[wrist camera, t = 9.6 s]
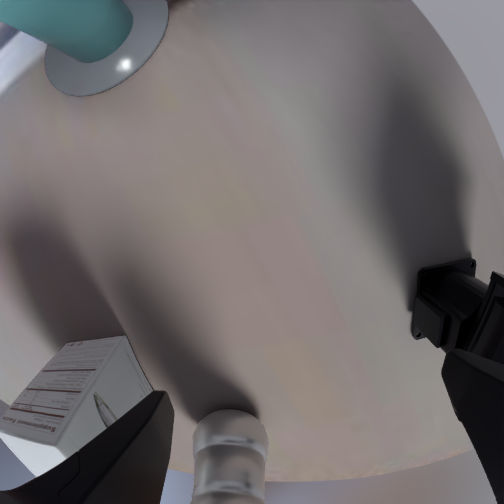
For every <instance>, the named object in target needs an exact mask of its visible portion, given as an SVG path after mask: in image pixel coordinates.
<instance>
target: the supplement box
mask: <svg viewBox="0 0 504 504" xmlns="http://www.w3.org/2000/svg"><path fill="white" fill-rule="evenodd" d="M152 391H153V390H152V388H151V386H150V384H149V383H148V381H147V379H146V377H145V376H144V374H143V372H142V370H141V368H140V366H139V364H138V362H137V359H136V357H135V355H134V353H133V351H132V349H131V346H130V344H129V342H128V339H127V337H126V336H125V335H124V336H116V337H109V338H102V339H94V340H86V341H78V342H71V343H66V344H65V345H64V346H63V347H62V349H61V350H60V351H59V352H58V353H57V354H56V355H55V356H54V357H53V358H52V359H51V360H50V361H49V362H48V363H47V364H46V365H45V367H44V368H43V369H42V370H41V371H40V372H39V373H38V374H37V376H36V377H35V378H34V379H33V380H32V381H31V382H30V383H29V385H28V386H27V387H26V388H25V389H24V390H23V392H22V393H21V394H20V395H19V396H18V398H17V399H16V400H15V401H14V402H13V404H12V405H11V406H10V407H9V409H8V410H7V411H6V412H5V413H4V415H3V416H2V417H1V418H0V438H1V439H2V440H3V441H4V442H5V444H6V445H7V446H8V447H9V448H10V449H11V451H12V452H14V454H15V455H16V456H17V457H18V458H19V459H20V460H21V462H22V463H23V464H24V465H25V466H26V467H27V468H28V469H29V470H30V471H31V472H32V473H33V474H34V475H35V476H36V477H38V476H40V475H42V474H43V473H45V472H47V471H49V470H50V469H52V468H53V467H55V466H57V465H58V464H60V463H61V462H63V461H64V460H65V459H67V458H68V457H70V456H71V455H72V454H74V453H75V452H76V451H78V452H79V449H80V448H82V447H83V446H84V445H86V444H87V443H88V442H90V441H91V440H92V439H93V438H95V437H96V436H97V435H99V434H100V433H101V432H102V431H104V430H105V429H106V428H108V427H109V426H110V425H111V424H113V423H114V422H115V421H116V420H118V419H119V418H120V417H121V416H123V415H124V414H125V413H126V412H128V411H129V410H130V409H131V408H133V407H134V406H135V405H136V404H137V403H139V402H140V401H141V400H142V399H144V398H145V397H146V396H147V395H148V394H150V393H151V392H152Z"/></svg>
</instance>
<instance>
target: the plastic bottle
mask: <svg viewBox="0 0 504 504" xmlns="http://www.w3.org/2000/svg"><path fill="white" fill-rule="evenodd" d="M268 445H269V441H268V437H267V434H266V430H265V428H264V426H263V424H262V423H261V422H260V421H259V420H258V419H256V418H255V417H254V416H252V415H251V414H249V413H247V412H244V411H240V410H232V409H224V410H218V411H215V412H212V413H210V414H208V415H207V416H205V417H204V418H203V419H201V420H200V422H199V423H198V425H197V427H196V430H195V432H194V435H193V455H194V489H193V493H192V501H191V504H265V496H264V482H265V463H266V459H267V454H268Z"/></svg>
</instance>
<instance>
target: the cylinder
mask: <svg viewBox="0 0 504 504" xmlns="http://www.w3.org/2000/svg"><path fill="white" fill-rule="evenodd" d="M0 21H1V22H3V23H5V24H7V25H9V26H12V27H14V28H16V29H18V30H20V31H22V32H24V33H26V34H28V35H30V36H32V37H34V38H36V39H38V40H40V41H42V42H44V43H46V44H48V45H50V46H51V47H53V48H55V49H57V50H59V51H61V52H63V53H64V54H66V55H68V56H70V57H72V58H73V59H75V60H77V61H79V62H82V63H93V62H97V61H100V60H102V59H104V58H106V57H108V56H109V55H111V54H112V53H113V52H115V51H116V50H117V49H118V48H119V47H120V46H121V45H122V44H123V43H124V41H125V40H126V39H127V37H128V35H129V34H130V32H131V29H132V26H133V15H132V12H131V10H130V9H129V8H128V7H127V5H126V4H125V3H124V2H123V1H122V0H0Z"/></svg>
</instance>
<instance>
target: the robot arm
mask: <svg viewBox="0 0 504 504" xmlns="http://www.w3.org/2000/svg"><path fill="white" fill-rule="evenodd" d="M471 263H472V264H471ZM475 271H476V260H475V259H472V258H468V259H464V260H459V261H454V262H450V263H445V264H440V265H435V266H430V267H425V268H422V269H421V270H420V271H419V273H418V284H417V295H416V298H415V308H414V317H413V331H412V336H413V338H414V339H416V340H419V339H422V338H425V337H427V338H428V339H429V340H430V341H431V343H432V344H433V345H434V346H435V347H436V348H441V349H442V350H443V351H444V352H445V353H446V356H445V360H444V363H443V367H442V371H441V375H442V378H443V381H444V384H445V386H446V389H447V392H448V395H449V397H450V400H451V403H452V406H453V409H454V412H455V414H456V416H457V418H458V420H459V421H460V422H462V424H463V426H464V428H465V430H466V432H467V434H468V436H469V438H470V440H471V442H472V444H473V446H474V448H475V450H476V453H477V455H478V457H479V459H480V461H481V464H482V466H483V468H484V470H485V473H486V475H487V478H488V480H489V482H490V485H491V487H492V489H493V492H494V495H495V497H496V501H497V504H504V275H502V274H499V273H497V272H494V271H492V274H491V277H490V279H491V280H490V283H489V285H487V284H485V283H484V282H482V281H480V280H479V279H477V278H475ZM424 273H426V274H425V276H423V274H424ZM417 334H418V335H417ZM173 423H174V409H173V406H172V404H171V401H170V398H169V395H168V393H167V392H166V391H157V390H155V391H152V392H151V393H150V394H148V395H147V396H146V397H145V398H144V399H142V400H141V401H140V402H139V403H137V404H136V405H135V406H134V407H133V408H131V409H130V410H129V411H128V412H126V413H125V414H124V415H123V416H121V417H120V418H119V419H118V420H116V421H115V422H114V423H113V424H111V425H110V426H109V427H108V428H106V429H105V430H104V431H102V432H101V433H100V434H99V435H97V436H96V437H95V438H93V439H92V440H91V441H90V442H88V443H87V444H86V445H84V446H83V447H82V448H80V449H79V452H78V451H76V452H75V453H74V454H72V455H71V456H70V457H68V458H67V459H65V460H64V461H63V462H61V463H60V464H58V465H57V466H55V467H53V468H52V469H50V470H49V471H47V472H45V473H43V474H42V475H40V476H38V477H36V478H34V479H33V480H31V481H29V482H27V483H25V484H23V485H21V486H19V487H17V488H15V489H12V490H6V491H0V504H160V500H161V495H162V491H163V486H164V481H165V477H166V472H167V468H168V464H169V459H170V453H171V443H172V433H173Z"/></svg>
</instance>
